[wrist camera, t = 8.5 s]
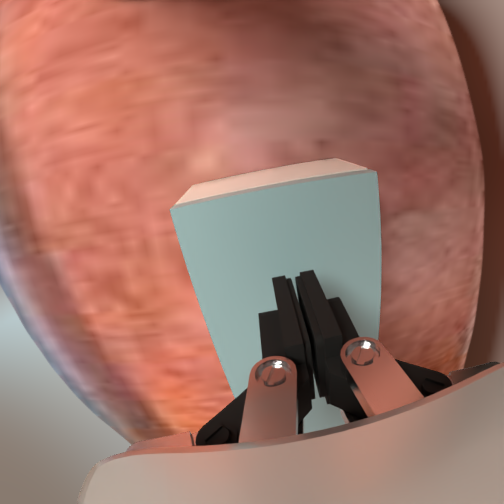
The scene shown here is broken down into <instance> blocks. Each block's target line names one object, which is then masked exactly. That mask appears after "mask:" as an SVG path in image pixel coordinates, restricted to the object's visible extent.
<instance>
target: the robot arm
mask: <svg viewBox="0 0 504 504" xmlns="http://www.w3.org/2000/svg"><path fill="white" fill-rule="evenodd" d="M295 281H296V288H297V295H298V299H297V296H296V292H295V289H294V286H293V283H292V279H291V278H287V279H286V277H285V275H283V276H278V277H273V278H272V283H273V288H274V293H275V298H276V304H277V309H278V310H273V311H267V312H262V313H258V317H259V328H260V339H261V350H262V360H260V361H259V362H257V363H256V364H255V365H254V366H253V367H252V369H251V372H250V375H249V381H248V388H246V389H245V390H244V391H243V392H242V393H241V394H240V395H239V396H238V397H236V398H235V399H234V400H233V401H232V402H231V403H230V404H229V405H227V406H226V407H225V408H224V409H223V410H222V411H221V412H219V413H218V414H217V415H216V416H215V417H214V418H212V419H211V420H210V421H209V422H208V423H206V424H205V425H204V426H203V427H202V428H201V429H200V430H199V431H198V432H197V433H193V434H191V433H190V431H189V432H185V433H180V434H176V435H171V436H166V437H161V438H155V439H150V440H144V441H139V442H136V443H134V444H132V445H131V446H130V447H129V448H128V449H127V451H126V452H124V453H120V454H116V455H113V456H110V457H108V458H106V459H103V460H102V461H100V462H98V463H97V464H95V466H94V467H93V468H92V469H91V470H90V472H89V473H88V475H87V477H86V479H85V481H84V484H83V486H82V488H81V491H80V494H79V497H78V500H77V504H504V362H502V363H498V362H489V363H486V364H482V365H478V366H474V367H470V368H466V369H461V370H456V371H452V372H450V373H449V375H444V374H442V373H440V372H437V371H433V370H430V369H426V368H423V367H419V366H416V365H413V364H409V363H406V362H403V361H399V360H396V359H394V358H393V357H392V356H391V354H390V353H389V352H388V351H387V349H386V348H385V347H384V346H383V344H382V343H380V342H379V341H378V340H376V339H374V338H370V337H359V335H358V333H357V331H356V329H355V327H354V325H353V323H352V321H351V319H350V317H349V315H348V313H347V311H346V309H345V307H344V305H343V303H342V301H341V299H340V298H339V297H335V298H330V299H326V296H325V294H324V292H323V290H322V288H321V285H320V283H319V281H318V279H317V277H316V274H315V272H314V270H308V271H303V272H300V276H297V277H295ZM313 374H314V376H313ZM314 378H315V382H316V386H317V389H318V393H319V397H320V398H322V397H325V399H326V403H327V404H330V405H333V406H335V407H337V408H339V411H340V414H341V416H342V418H343V420H344V422H345V424H343V425H340V426H336V427H331V428H327V429H323V430H318V431H314V432H309V433H304V418H305V416H306V415H307V414H308V413H309V412H310V411H311V409H312V399H315V387H314Z"/></svg>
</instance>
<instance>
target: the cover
mask: <svg viewBox="0 0 504 504" xmlns="http://www.w3.org/2000/svg"><path fill="white" fill-rule="evenodd" d="M170 213H171V216H172V220H173V223H174V227H175V230H176V233H177V237H178V240H179V243H180V247H181V250H182V253H183V256H184V259H185V263H186V266H187V269H188V272H189V275H190V278H191V281H192V284H193V287H194V290H195V293H196V296H197V299H198V302H199V305H200V308H201V311H202V313H203V316H204V319H205V322H206V325H207V327H208V330H209V333H210V336H211V338H212V341H213V344H214V346H215V349H216V352H217V354H218V357H219V360H220V362H221V365H222V367H223V370H224V372H225V375H226V378H227V380H228V383H229V385H230V387H231V390H232V392H233V395H234V397H235V398H236V397H238V396H239V395H240V394H241V393H242V392H243V391H244V390H245V389H246V388H248V381H249V375H250V372H251V369H252V367H253V366H254V365H255V364H256V363H257V362H259V361H260V360H262V350H261V339H260V328H259V317H258V313H262V312H267V311H273V310H278V309H277V304H276V298H275V293H274V288H273V283H272V278H273V277H278V276H283V275H285V277H286V279H287V278H291V279H292V283H293V286H294V289H295V292H296V296H297V299H298V295H297V288H296V281H295V277H297V276H300V272H303V271H308V270H314V272H315V274H316V277H317V279H318V281H319V283H320V285H321V288H322V290H323V292H324V294H325V296H326V299H330V298H335V297H339V298H340V299H341V301H342V303H343V305H344V307H345V309H346V311H347V313H348V315H349V317H350V319H351V321H352V323H353V325H354V327H355V329H356V331H357V333H358V335H359V337H370V338H374V339H376V340H378V336H379V322H380V305H381V220H380V202H379V189H378V177H377V172H376V171H374V170H371V169H367V170H359V171H352V172H345V173H338V174H331V175H324V176H318V177H312V178H305V179H299V180H293V181H288V182H282V183H276V184H271V185H265V186H260V187H255V188H250V189H245V190H240V191H235V192H230V193H225V194H220V195H216V196H211V197H207V198H202V199H198V200H193V201H189V202H185V203H180V204H176V205H174V206H173V207H172V208H171V209H170ZM313 376H314V374H313ZM314 387H315V399H312V409H311V411H310V412H309V413H308V414H307V415H306V416H305V418H304V433H309V432H314V431H318V430H323V429H327V428H331V427H336V426H340V425H343V424H345V422H344V420H343V418H342V416H341V414H340V411H339V408H337V407H335V406H333V405H330V404H327V403H326V399H325V397H322V398H320V397H319V393H318V389H317V386H316V382H315V378H314Z"/></svg>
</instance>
